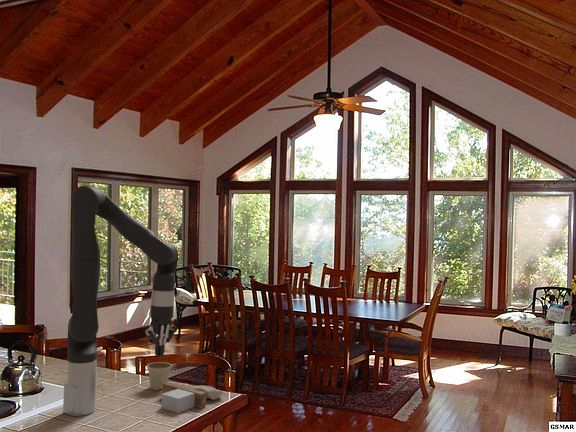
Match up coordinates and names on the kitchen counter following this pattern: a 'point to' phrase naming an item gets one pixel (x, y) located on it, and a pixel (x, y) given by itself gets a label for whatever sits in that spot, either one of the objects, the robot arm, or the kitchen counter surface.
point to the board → (199, 395)
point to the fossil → (209, 392)
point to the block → (178, 400)
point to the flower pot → (158, 374)
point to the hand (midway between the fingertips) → (159, 356)
